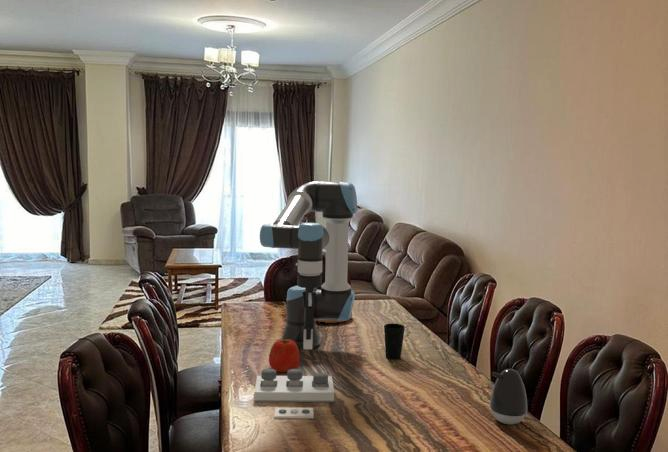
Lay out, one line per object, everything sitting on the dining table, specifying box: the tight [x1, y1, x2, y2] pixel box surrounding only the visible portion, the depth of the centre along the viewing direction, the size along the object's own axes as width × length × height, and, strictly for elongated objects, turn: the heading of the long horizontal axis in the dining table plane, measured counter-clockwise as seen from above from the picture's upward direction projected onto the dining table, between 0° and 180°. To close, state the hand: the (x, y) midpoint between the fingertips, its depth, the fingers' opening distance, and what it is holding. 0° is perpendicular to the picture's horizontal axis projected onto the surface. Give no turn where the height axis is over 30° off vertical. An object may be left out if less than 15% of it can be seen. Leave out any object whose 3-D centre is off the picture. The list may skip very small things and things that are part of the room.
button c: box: [260, 368, 277, 387], centre depth 186 cm, size 5×5×5 cm
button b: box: [286, 368, 303, 387], centre depth 186 cm, size 5×5×5 cm
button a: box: [312, 372, 329, 387], centre depth 187 cm, size 5×5×5 cm
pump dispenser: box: [489, 368, 528, 425], centre depth 170 cm, size 10×10×15 cm
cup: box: [383, 322, 406, 361], centre depth 223 cm, size 8×8×12 cm
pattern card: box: [274, 407, 315, 419], centre depth 171 cm, size 6×11×1 cm, turn 93°
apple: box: [268, 339, 301, 373], centre depth 208 cm, size 11×11×11 cm
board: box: [253, 375, 335, 403], centre depth 186 cm, size 14×24×3 cm, turn 93°
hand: (307, 348), depth 185 cm, fingers closed
